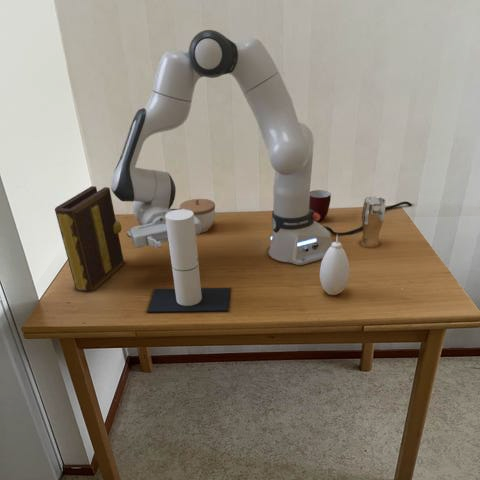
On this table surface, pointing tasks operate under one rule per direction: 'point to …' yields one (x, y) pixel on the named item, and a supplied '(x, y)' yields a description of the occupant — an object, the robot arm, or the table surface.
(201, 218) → the lidded bowl
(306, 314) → the table surface
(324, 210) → the mug
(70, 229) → the book
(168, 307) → the felt mat
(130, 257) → the table surface
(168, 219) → the cylindrical container
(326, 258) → the white bulb air blower
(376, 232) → the beer glass
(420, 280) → the table surface
